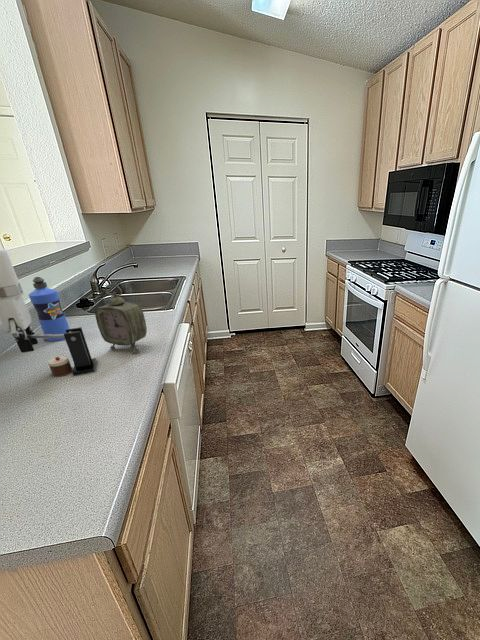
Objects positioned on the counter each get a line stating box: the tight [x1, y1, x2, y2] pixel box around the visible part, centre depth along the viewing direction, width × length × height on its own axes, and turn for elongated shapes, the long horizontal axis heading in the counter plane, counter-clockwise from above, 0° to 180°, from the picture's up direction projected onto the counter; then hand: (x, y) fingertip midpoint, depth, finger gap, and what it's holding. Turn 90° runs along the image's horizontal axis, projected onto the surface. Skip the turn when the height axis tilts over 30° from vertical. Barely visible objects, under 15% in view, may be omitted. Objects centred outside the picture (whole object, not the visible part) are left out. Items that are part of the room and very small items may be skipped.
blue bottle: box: [28, 276, 71, 342], centre depth 134 cm, size 9×9×25 cm
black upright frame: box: [64, 326, 97, 376], centre depth 111 cm, size 6×9×14 cm, turn 25°
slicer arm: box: [21, 331, 77, 339], centre depth 106 cm, size 15×5×2 cm, turn 115°
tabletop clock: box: [94, 283, 148, 354], centre depth 122 cm, size 14×9×25 cm, turn 74°
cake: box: [47, 355, 73, 377], centre depth 110 cm, size 6×6×6 cm
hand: (29, 347), depth 104 cm, fingers closed on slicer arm, 5 cm apart
